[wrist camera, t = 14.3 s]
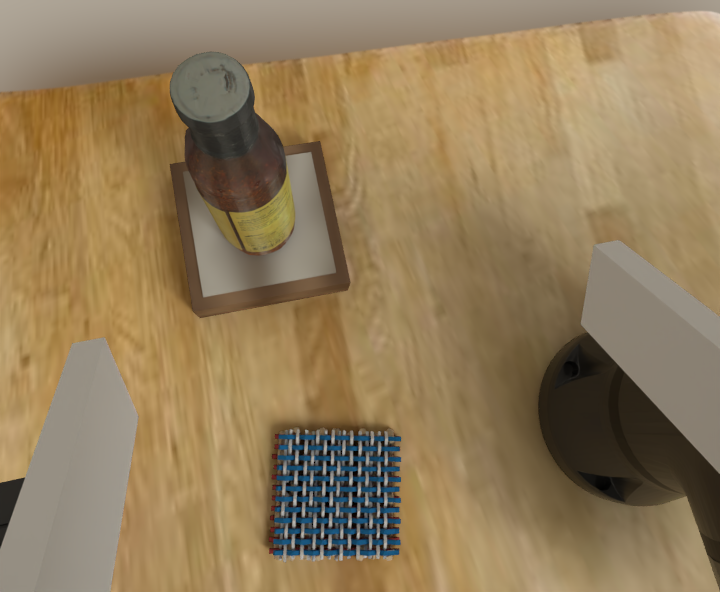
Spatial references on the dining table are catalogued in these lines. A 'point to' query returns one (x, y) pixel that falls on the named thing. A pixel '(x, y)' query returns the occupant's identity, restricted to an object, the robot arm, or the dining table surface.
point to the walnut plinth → (271, 271)
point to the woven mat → (335, 495)
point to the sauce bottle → (233, 153)
